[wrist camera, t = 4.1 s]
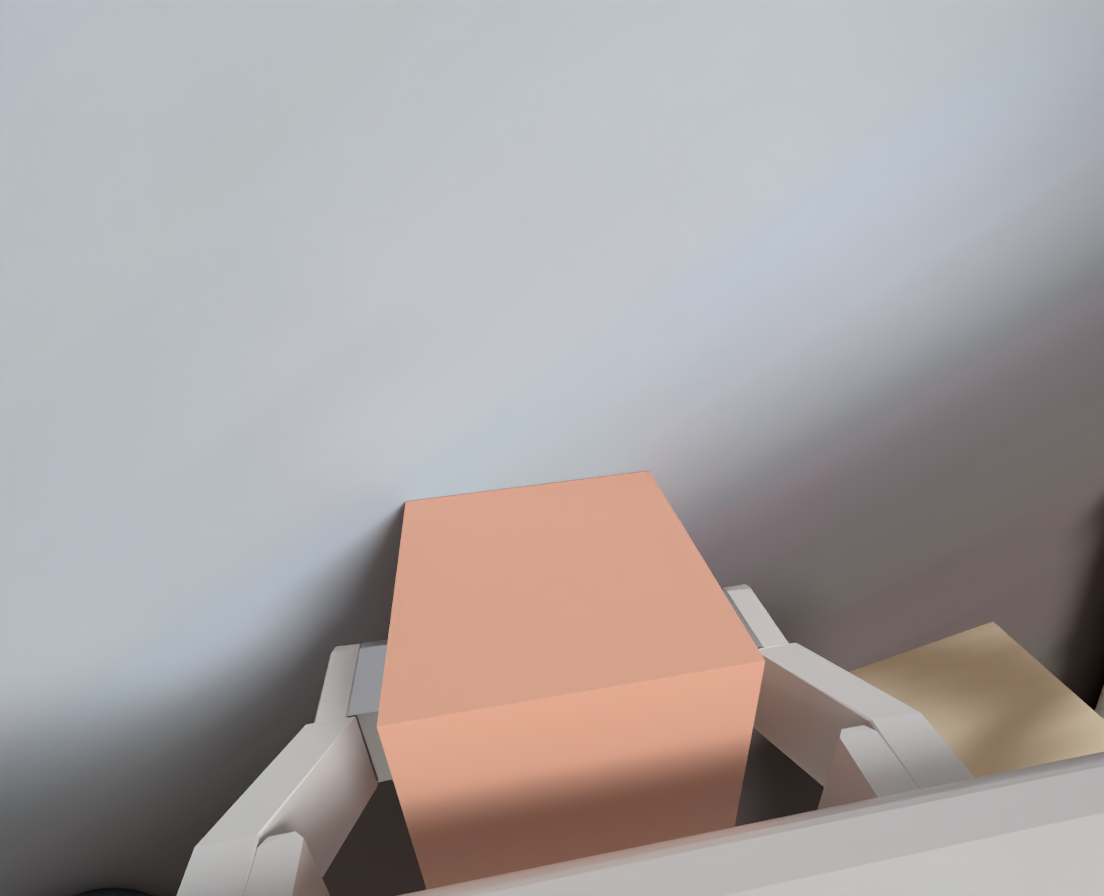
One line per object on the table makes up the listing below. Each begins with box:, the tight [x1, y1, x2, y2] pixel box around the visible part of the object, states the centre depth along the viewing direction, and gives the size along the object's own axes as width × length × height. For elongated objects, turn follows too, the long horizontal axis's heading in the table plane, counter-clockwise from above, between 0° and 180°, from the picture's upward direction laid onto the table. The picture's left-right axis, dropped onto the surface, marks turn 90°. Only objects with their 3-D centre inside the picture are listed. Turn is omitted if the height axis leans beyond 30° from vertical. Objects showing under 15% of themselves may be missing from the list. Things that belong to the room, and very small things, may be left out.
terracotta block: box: [377, 471, 765, 889], centre depth 11 cm, size 5×5×5 cm
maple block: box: [849, 622, 1104, 778], centre depth 15 cm, size 5×5×5 cm
